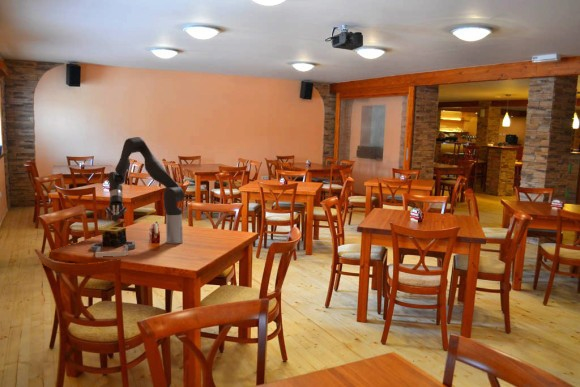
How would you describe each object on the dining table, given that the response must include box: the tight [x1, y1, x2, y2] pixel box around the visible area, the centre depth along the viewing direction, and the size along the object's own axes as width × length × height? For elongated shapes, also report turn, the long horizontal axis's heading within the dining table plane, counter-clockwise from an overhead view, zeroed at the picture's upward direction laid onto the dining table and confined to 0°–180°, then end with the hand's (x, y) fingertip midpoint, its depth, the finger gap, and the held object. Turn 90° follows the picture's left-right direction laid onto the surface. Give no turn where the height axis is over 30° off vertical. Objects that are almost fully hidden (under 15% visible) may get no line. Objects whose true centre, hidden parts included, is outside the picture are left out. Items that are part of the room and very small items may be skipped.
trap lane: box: [90, 240, 136, 258], centre depth 270 cm, size 23×22×2 cm
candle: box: [101, 226, 128, 249], centre depth 282 cm, size 10×10×10 cm
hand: (115, 221), depth 297 cm, fingers closed
